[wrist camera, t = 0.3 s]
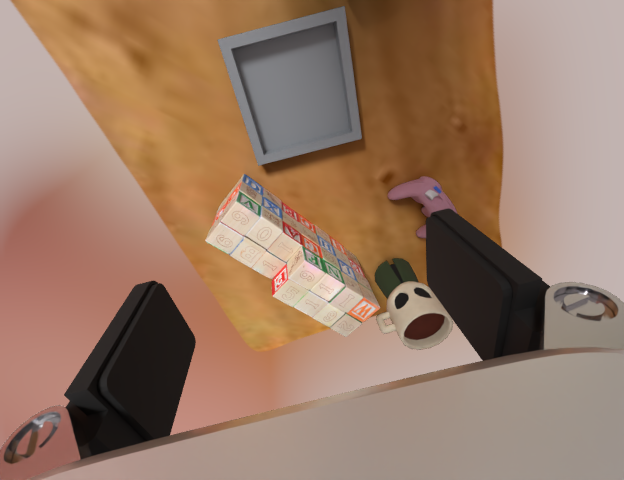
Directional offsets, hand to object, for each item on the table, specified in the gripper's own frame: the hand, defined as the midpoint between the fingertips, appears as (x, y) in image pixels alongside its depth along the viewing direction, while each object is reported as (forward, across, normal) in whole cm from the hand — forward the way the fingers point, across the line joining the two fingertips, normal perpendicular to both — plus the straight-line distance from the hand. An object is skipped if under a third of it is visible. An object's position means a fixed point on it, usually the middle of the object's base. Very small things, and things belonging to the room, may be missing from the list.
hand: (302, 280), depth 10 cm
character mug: (+30, -12, +26) cm, 41 cm away
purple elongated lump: (+30, -17, +14) cm, 37 cm away
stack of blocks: (+30, +2, +14) cm, 33 cm away
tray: (+30, -3, -4) cm, 30 cm away
